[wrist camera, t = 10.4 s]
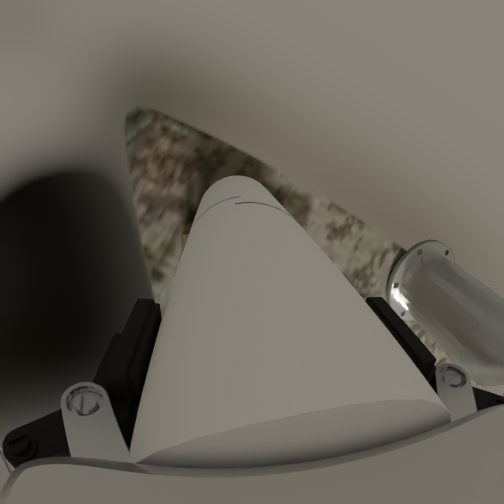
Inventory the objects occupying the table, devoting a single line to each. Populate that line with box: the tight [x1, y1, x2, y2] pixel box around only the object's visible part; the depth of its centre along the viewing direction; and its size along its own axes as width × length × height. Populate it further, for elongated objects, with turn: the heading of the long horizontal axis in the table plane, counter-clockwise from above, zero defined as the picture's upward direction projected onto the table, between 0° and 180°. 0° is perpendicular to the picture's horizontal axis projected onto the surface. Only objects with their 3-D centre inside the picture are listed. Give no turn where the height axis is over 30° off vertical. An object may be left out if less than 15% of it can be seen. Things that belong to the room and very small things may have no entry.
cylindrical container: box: [128, 176, 451, 469], centre depth 16 cm, size 7×7×25 cm
